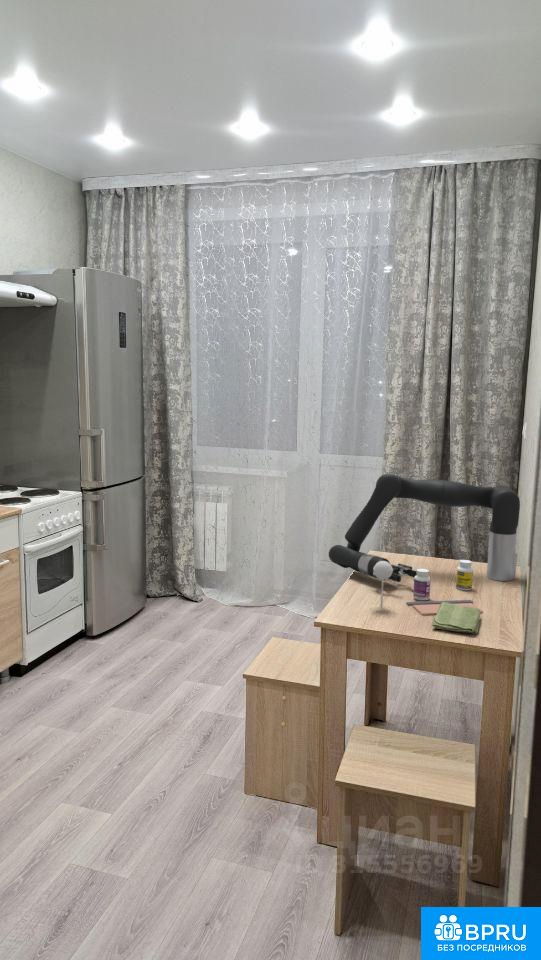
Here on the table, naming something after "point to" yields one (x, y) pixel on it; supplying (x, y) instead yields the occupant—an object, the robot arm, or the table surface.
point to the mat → (437, 606)
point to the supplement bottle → (464, 575)
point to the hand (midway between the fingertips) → (408, 576)
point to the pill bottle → (422, 585)
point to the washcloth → (457, 618)
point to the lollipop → (382, 573)
